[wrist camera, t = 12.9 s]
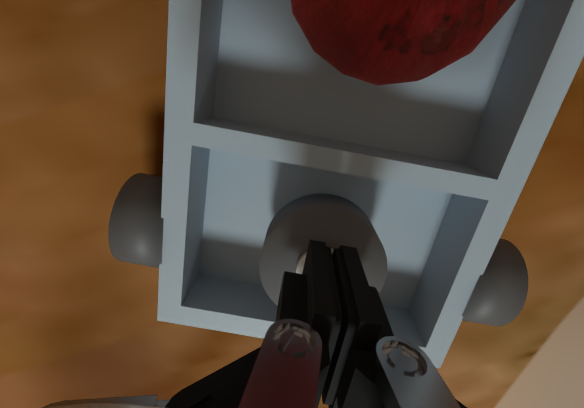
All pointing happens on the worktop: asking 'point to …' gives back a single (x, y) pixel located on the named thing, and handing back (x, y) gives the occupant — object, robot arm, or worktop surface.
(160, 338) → the worktop surface
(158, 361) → the worktop surface
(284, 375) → the robot arm
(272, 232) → the spare wheel
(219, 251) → the chassis
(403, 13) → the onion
